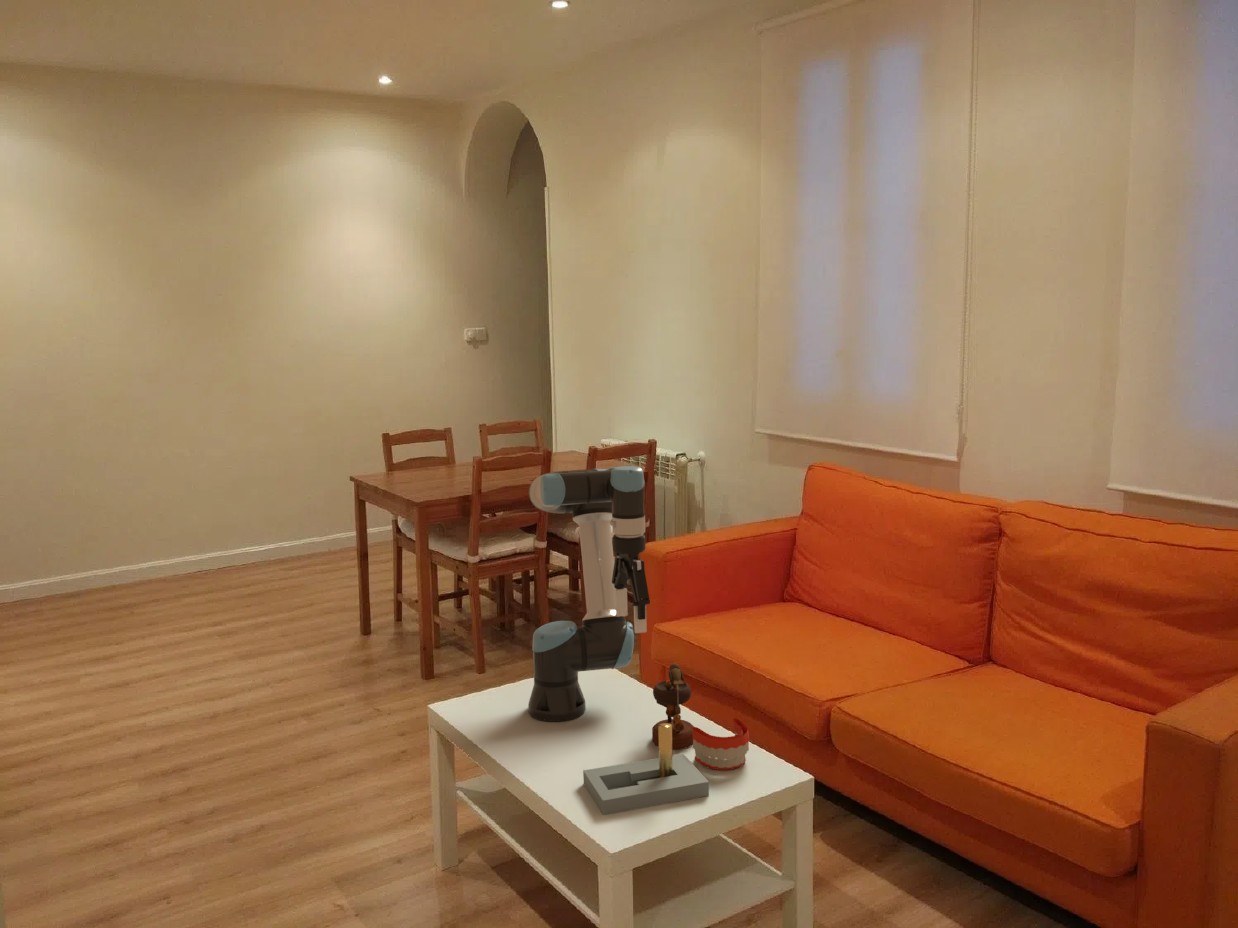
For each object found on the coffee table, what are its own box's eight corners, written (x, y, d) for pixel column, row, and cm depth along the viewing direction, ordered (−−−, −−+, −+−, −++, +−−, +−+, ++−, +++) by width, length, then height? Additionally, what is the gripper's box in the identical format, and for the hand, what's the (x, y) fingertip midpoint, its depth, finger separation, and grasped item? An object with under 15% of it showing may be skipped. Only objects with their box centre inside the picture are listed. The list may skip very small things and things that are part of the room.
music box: (708, 746, 244) (700, 668, 241) (667, 759, 240) (659, 680, 237) (679, 723, 258) (672, 649, 255) (640, 735, 254) (632, 660, 250)
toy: (712, 777, 228) (711, 744, 227) (690, 759, 238) (690, 727, 237) (760, 766, 233) (760, 733, 232) (737, 749, 243) (737, 717, 242)
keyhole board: (583, 783, 227) (583, 770, 226) (683, 766, 234) (683, 753, 234) (603, 814, 213) (602, 800, 212) (708, 795, 220) (708, 781, 219)
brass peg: (650, 782, 227) (648, 722, 225) (673, 778, 228) (672, 719, 226) (658, 793, 221) (657, 732, 219) (682, 789, 223) (681, 728, 221)
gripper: (597, 525, 242) (599, 610, 246) (630, 547, 219) (632, 641, 222) (627, 522, 245) (629, 607, 248) (663, 544, 221) (664, 637, 224)
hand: (630, 623), depth 235 cm, fingers open, 13 cm apart
